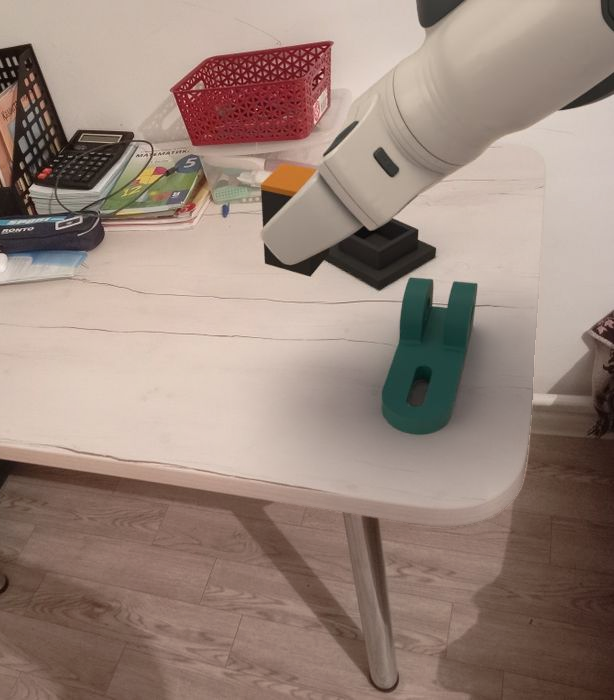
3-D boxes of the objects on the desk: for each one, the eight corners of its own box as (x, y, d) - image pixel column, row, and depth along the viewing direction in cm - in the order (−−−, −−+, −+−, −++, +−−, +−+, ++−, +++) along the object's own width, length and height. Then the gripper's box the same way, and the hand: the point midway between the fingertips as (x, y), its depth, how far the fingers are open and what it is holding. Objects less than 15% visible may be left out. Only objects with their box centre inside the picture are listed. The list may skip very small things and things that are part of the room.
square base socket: (435, 256, 83) (437, 228, 80) (378, 290, 81) (378, 262, 78) (375, 228, 91) (375, 201, 88) (322, 258, 89) (320, 232, 86)
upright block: (329, 254, 61) (332, 172, 55) (310, 277, 59) (311, 194, 53) (284, 242, 64) (282, 162, 58) (264, 263, 62) (260, 184, 56)
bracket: (411, 318, 76) (413, 265, 71) (472, 325, 72) (479, 270, 67) (374, 426, 65) (374, 373, 60) (444, 440, 62) (450, 386, 57)
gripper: (431, 47, 51) (319, 140, 63) (317, 165, 41) (210, 249, 53) (478, 106, 52) (359, 186, 64) (377, 236, 42) (258, 303, 54)
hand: (290, 216), depth 59 cm, fingers closed on upright block, 4 cm apart
